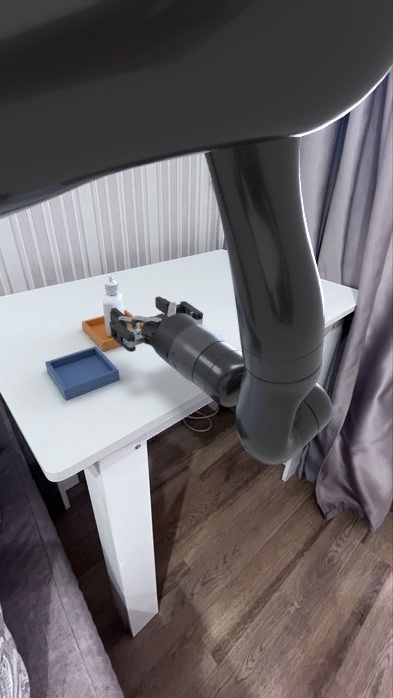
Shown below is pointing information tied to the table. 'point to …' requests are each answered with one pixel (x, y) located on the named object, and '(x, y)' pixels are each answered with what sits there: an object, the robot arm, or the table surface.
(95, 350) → the blue tray
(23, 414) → the table surface
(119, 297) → the eye dropper bottle
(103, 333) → the amber tray
